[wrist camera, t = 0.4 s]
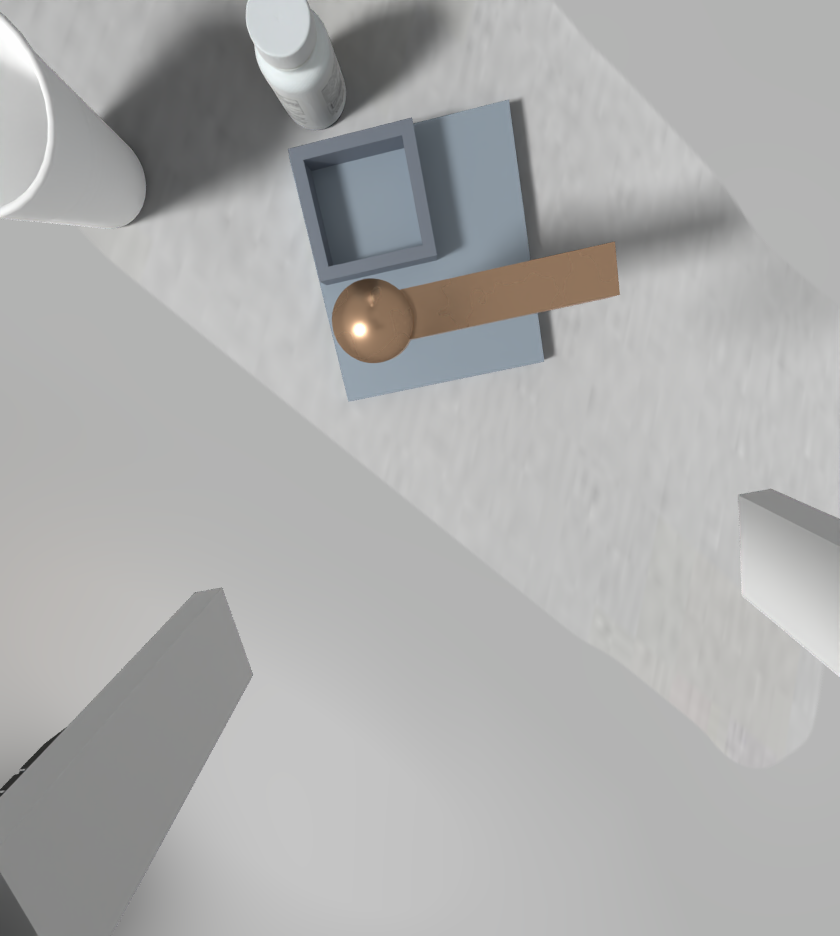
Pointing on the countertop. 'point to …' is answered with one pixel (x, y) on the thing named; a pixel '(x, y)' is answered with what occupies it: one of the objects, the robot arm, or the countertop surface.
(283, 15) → the pill bottle
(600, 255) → the lever
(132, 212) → the cup
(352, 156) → the board
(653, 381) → the countertop surface
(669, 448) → the countertop surface
